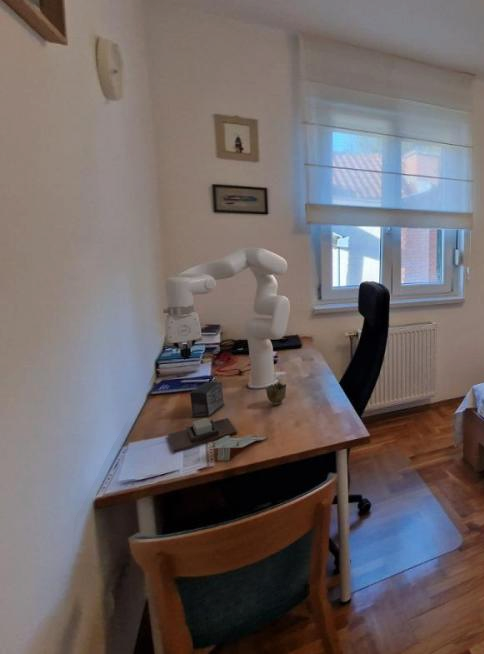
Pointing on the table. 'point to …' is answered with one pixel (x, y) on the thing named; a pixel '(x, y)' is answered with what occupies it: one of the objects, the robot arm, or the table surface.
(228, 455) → the metal bracket
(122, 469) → the table surface
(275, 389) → the cup
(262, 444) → the table surface
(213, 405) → the small box
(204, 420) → the gray rectangular block
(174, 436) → the mounting board
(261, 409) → the table surface
